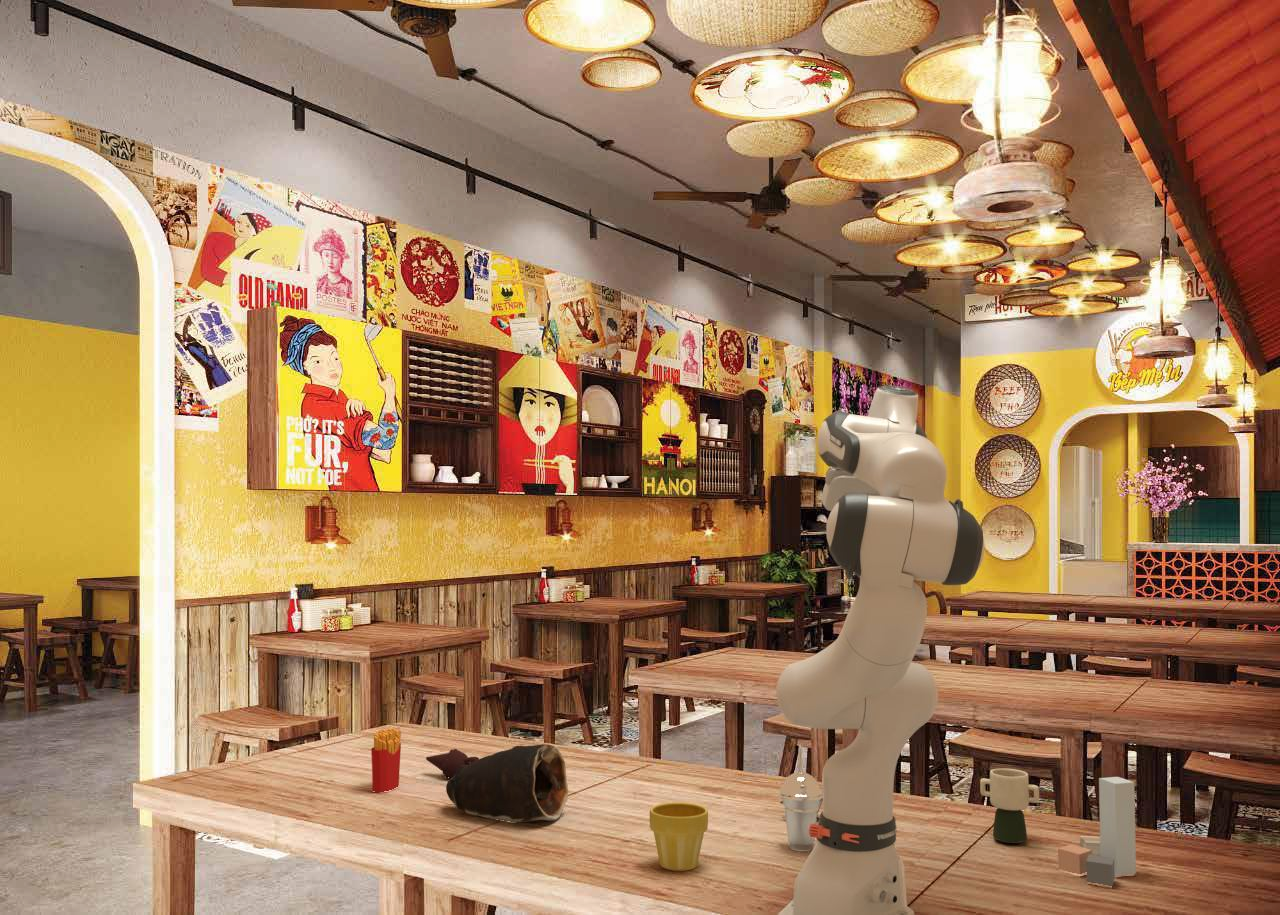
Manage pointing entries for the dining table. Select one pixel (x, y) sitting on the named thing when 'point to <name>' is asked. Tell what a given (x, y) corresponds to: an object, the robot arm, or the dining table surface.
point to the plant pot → (678, 833)
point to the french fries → (386, 760)
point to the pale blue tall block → (1118, 823)
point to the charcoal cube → (1100, 870)
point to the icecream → (450, 761)
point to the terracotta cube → (1073, 858)
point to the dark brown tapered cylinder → (513, 785)
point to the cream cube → (1091, 844)
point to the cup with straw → (800, 806)
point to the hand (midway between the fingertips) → (868, 529)
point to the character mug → (1009, 802)
